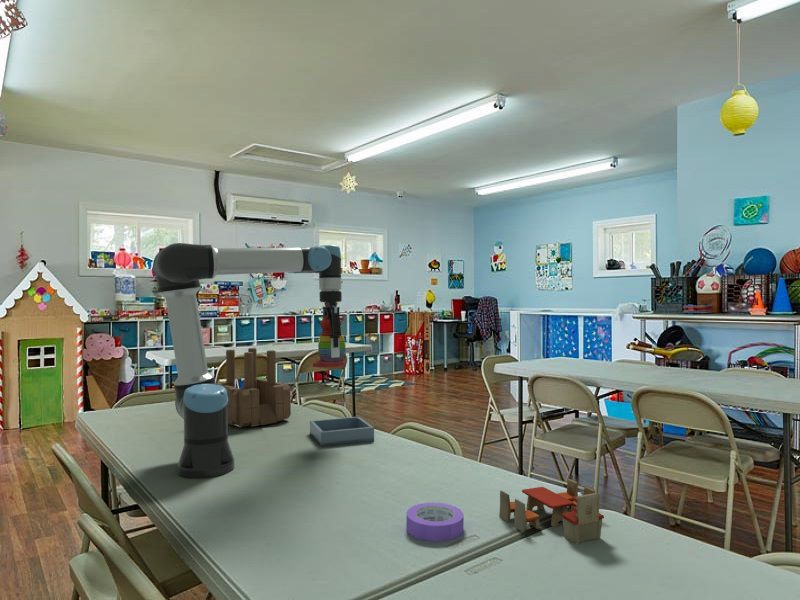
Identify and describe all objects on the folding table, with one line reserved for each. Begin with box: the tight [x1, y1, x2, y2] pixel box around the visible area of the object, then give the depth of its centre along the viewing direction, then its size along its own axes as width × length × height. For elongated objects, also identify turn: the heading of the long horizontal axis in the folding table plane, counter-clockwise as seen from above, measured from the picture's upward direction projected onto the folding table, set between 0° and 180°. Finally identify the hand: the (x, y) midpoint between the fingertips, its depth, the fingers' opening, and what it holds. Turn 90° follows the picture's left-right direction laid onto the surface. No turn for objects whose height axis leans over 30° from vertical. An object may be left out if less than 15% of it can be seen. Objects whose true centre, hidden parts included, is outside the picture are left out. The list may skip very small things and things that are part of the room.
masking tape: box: [405, 502, 465, 542], centre depth 110 cm, size 12×12×4 cm
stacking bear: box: [312, 315, 347, 369], centre depth 185 cm, size 11×10×18 cm
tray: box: [309, 416, 375, 447], centre depth 185 cm, size 18×18×4 cm
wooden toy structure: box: [215, 347, 292, 428], centre depth 217 cm, size 23×30×27 cm
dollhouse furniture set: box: [498, 478, 605, 545], centre depth 112 cm, size 19×19×10 cm
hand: (331, 355), depth 185 cm, fingers closed on stacking bear, 9 cm apart
